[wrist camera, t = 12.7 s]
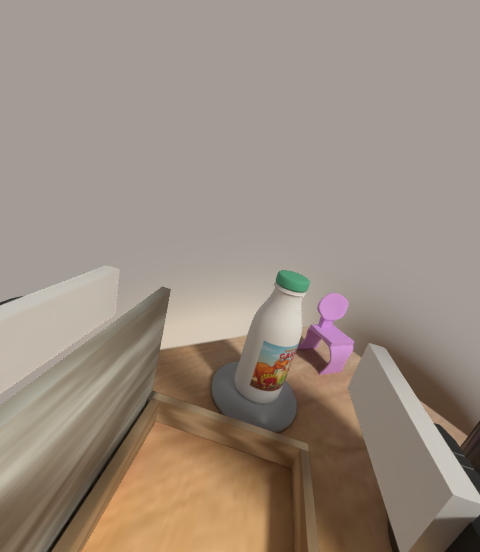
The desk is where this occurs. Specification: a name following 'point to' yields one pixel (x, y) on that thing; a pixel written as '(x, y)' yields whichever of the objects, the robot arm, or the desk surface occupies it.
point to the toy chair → (330, 333)
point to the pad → (240, 408)
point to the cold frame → (111, 437)
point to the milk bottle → (272, 340)
